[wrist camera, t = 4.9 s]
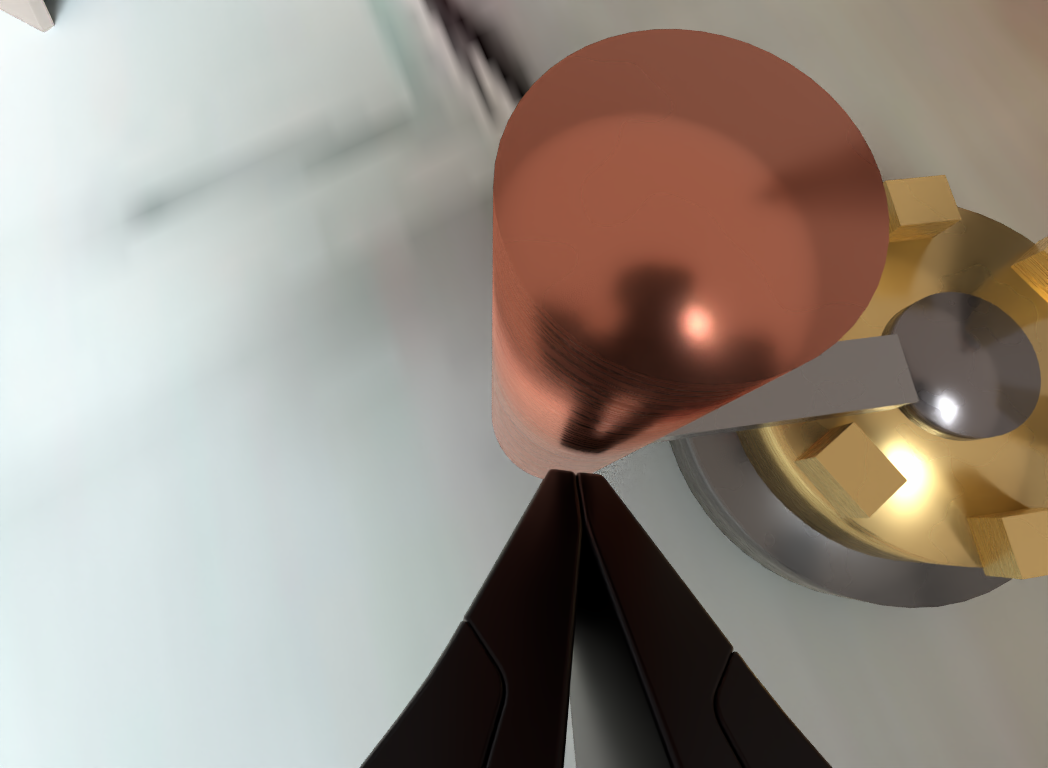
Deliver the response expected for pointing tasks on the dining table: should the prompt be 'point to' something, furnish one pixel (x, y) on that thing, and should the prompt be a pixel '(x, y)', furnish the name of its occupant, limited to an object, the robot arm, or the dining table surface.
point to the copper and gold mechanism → (766, 303)
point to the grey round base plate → (809, 536)
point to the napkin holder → (29, 12)
